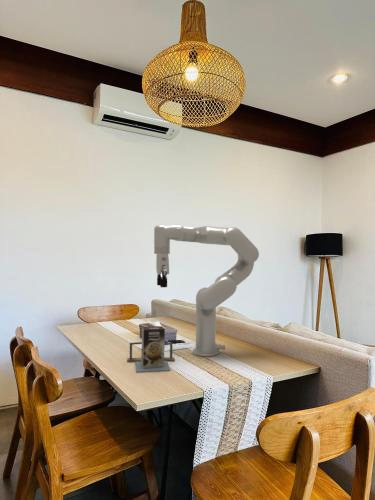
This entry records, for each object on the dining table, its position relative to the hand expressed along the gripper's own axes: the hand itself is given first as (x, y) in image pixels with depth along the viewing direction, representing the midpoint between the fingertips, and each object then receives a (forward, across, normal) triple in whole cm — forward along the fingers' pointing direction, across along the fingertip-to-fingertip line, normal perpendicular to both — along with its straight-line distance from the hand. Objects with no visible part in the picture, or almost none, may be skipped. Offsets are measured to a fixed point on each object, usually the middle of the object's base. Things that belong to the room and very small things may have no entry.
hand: (162, 286), depth 167 cm
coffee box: (+32, -19, +7) cm, 38 cm away
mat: (+32, -19, +7) cm, 38 cm away
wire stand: (+32, -11, +7) cm, 35 cm away
